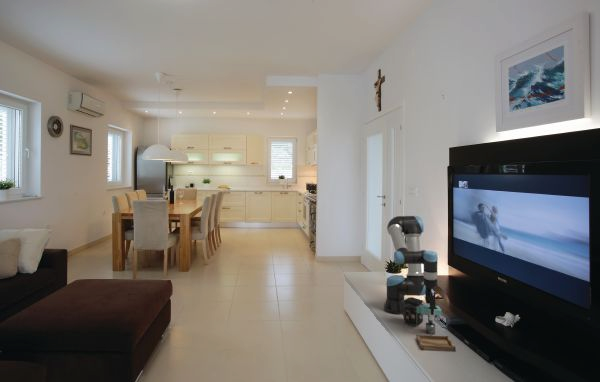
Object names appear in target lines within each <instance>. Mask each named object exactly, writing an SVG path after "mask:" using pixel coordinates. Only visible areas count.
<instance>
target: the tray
mask: <svg viewBox="0 0 600 382" xmlns="http://www.w3.org/2000/svg"><path fill="white" fill-rule="evenodd" d="M416 340H417V343H418V345H419V347H420V350H421V351H435V352H436V351H439V352H456V346H455V344H454V342H453V341H452V340H451V338H450V337H449V335H429V334H427V335H426V334H416Z"/></svg>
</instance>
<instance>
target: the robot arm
mask: <svg viewBox="0 0 600 382" xmlns="http://www.w3.org/2000/svg"><path fill="white" fill-rule="evenodd" d="M386 229H387V233H388V234H389V235H390V238H391V241H392V243H393V247H394V253H393V261H394V263H395V264H400V265H407V267H408V268H407V270H408V272H407V274H406V277H405V276H404V275H402V274H393V275H389V276H388V277H387V278H386V300H385V302H384V305H383V310H384V312H387V313H388V314H393V315H403V312H402V310H404V300H405V296H409V297H410V296H413V297H414V296H418V297H420V296H424V297H425V299H424V301H425V306H430V308H429V320H433V321H435V316H436V315H435V309H436V306H437V303H436V293H437V292H436V290H435V287H437V286H438V260H439V259H438V252H436V251H434V250H426V249H421V245H420V237H421V236H422V233H424V222H423V219H422V218H421V217H420V216H418V215H401V216H400V215H398V216H395V217H393V218H392V219H390V220H389V221H388V224H387V227H386ZM404 237H405V238H404ZM405 239H406V240H405ZM422 265H423V271H422Z"/></svg>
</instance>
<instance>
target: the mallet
mask: <svg viewBox="0 0 600 382" xmlns="http://www.w3.org/2000/svg"><path fill="white" fill-rule="evenodd" d="M427 316H428V318H427V322H426V323H425V333H426V334H427V335H429V334H431V335H432V336H435V334H436V324H435V323H434V320H429V315H427Z"/></svg>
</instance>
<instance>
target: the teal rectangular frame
mask: <svg viewBox="0 0 600 382" xmlns="http://www.w3.org/2000/svg"><path fill="white" fill-rule="evenodd" d="M429 308H430V306H426V305H424V304H423V305H419V307H417V313H421V314H422V315H423V316H428V315H429ZM442 311H443V310H442V309H441V307H440V306H439V305H436V309H435V316H439V317H441V316H443V314H442V313H443V312H442Z"/></svg>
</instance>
